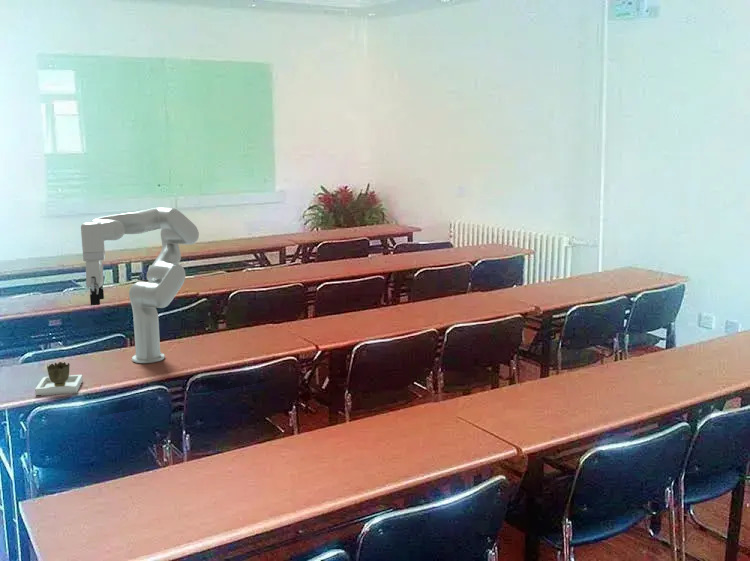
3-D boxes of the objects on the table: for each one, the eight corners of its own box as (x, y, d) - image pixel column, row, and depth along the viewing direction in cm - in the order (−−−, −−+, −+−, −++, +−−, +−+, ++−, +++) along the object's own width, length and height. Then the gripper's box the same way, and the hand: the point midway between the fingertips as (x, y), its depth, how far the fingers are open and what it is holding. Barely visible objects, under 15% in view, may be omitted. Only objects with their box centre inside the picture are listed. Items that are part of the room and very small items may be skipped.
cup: (44, 387, 268) (42, 366, 266) (61, 381, 274) (59, 360, 273) (58, 391, 264) (56, 369, 263) (75, 385, 271) (73, 363, 269)
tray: (44, 383, 275) (43, 376, 274) (82, 381, 277) (82, 374, 277) (35, 395, 262) (34, 389, 261) (76, 393, 265) (75, 386, 264)
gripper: (87, 252, 283) (90, 297, 286) (79, 260, 266) (82, 307, 269) (108, 252, 284) (111, 296, 287) (101, 259, 267) (104, 306, 271)
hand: (97, 302), depth 278 cm, fingers open, 9 cm apart
